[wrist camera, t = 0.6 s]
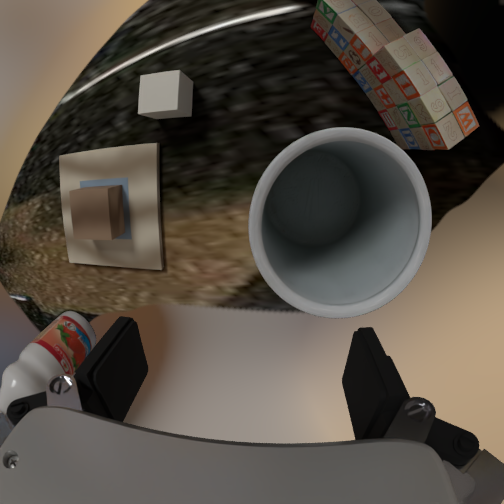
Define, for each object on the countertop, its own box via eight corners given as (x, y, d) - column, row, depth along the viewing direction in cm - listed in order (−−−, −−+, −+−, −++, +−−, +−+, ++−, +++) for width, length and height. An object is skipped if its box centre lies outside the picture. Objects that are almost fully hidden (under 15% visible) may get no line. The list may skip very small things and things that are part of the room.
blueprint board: (63, 155, 36) (59, 155, 35) (159, 143, 35) (156, 143, 34) (72, 260, 42) (69, 262, 41) (164, 267, 41) (161, 270, 40)
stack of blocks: (308, 27, 28) (321, -19, 17) (341, 12, 27) (364, -32, 15) (400, 150, 33) (449, 151, 21) (429, 130, 32) (481, 126, 20)
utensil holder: (362, 139, 33) (430, 128, 16) (368, 246, 38) (425, 306, 21) (251, 147, 34) (234, 136, 18) (265, 256, 39) (260, 328, 23)
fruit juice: (56, 307, 45) (-32, 390, 19) (89, 311, 45) (-4, 412, 18) (70, 345, 48) (-2, 432, 22) (103, 352, 48) (31, 454, 21)
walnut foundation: (84, 187, 36) (69, 191, 33) (122, 184, 36) (107, 188, 32) (88, 231, 39) (74, 239, 35) (125, 232, 38) (111, 240, 34)
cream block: (158, 85, 32) (140, 75, 27) (193, 82, 32) (179, 70, 26) (157, 119, 34) (138, 113, 28) (191, 116, 34) (177, 109, 28)
